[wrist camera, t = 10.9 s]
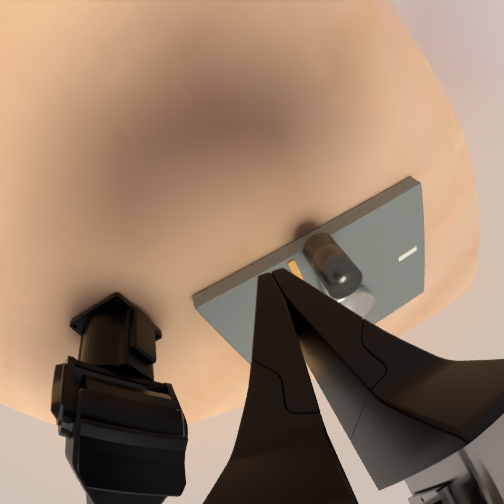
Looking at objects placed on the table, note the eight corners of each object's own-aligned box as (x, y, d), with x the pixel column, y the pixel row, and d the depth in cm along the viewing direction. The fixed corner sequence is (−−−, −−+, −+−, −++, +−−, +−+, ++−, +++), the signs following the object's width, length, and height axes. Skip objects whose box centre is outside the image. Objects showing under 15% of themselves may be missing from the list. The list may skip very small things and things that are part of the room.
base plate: (264, 371, 35) (268, 382, 33) (192, 295, 25) (195, 310, 23) (416, 283, 33) (424, 292, 32) (410, 176, 24) (422, 183, 22)
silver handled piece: (374, 317, 31) (395, 347, 28) (312, 351, 31) (328, 385, 28) (357, 210, 22) (393, 243, 18) (264, 257, 22) (286, 301, 18)
